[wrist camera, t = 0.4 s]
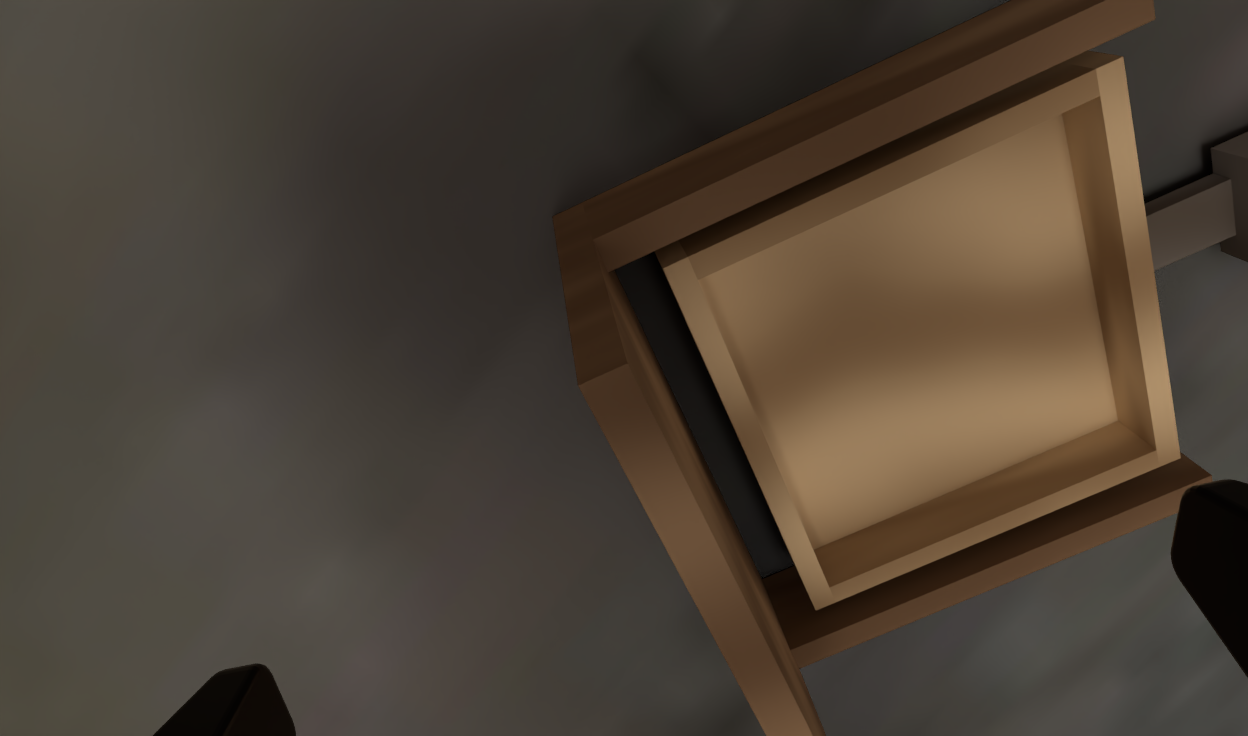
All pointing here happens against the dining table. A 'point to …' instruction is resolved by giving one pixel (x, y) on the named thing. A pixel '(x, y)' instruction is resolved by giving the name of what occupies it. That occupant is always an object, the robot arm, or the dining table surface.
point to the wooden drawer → (953, 325)
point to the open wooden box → (657, 430)
